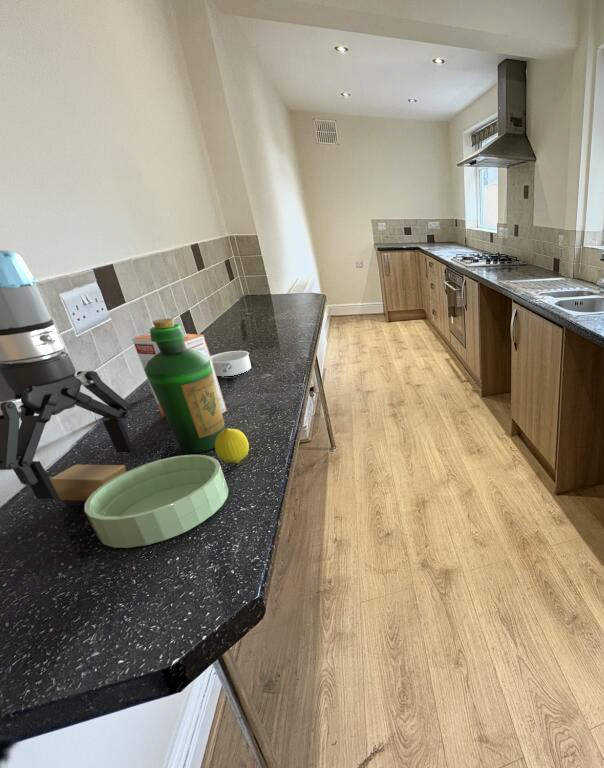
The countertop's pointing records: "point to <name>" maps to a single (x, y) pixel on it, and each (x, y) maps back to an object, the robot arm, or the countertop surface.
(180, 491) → the bowl
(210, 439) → the bottle
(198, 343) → the cracker box
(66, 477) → the wooden block
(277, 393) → the countertop surface
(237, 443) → the lemon
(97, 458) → the countertop surface
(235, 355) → the saucepan
